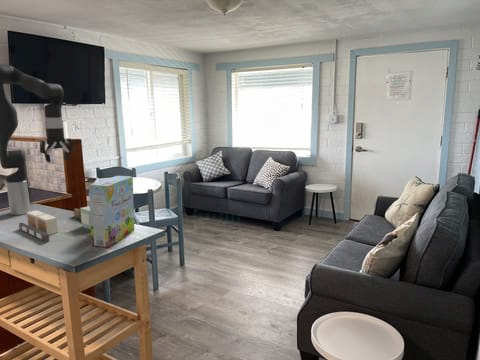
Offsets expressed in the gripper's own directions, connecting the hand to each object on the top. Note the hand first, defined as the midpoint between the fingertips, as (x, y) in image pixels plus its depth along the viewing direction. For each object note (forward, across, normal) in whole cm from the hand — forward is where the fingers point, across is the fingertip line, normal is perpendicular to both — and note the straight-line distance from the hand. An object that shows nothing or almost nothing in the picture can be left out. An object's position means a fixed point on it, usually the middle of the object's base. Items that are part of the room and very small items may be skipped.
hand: (57, 161), depth 174 cm
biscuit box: (+30, -13, -11) cm, 34 cm away
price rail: (+30, -19, -11) cm, 37 cm away
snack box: (+30, +2, -42) cm, 51 cm away
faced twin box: (+30, -13, -1) cm, 32 cm away
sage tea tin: (+30, +3, -20) cm, 36 cm away
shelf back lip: (+30, +7, -11) cm, 32 cm away
